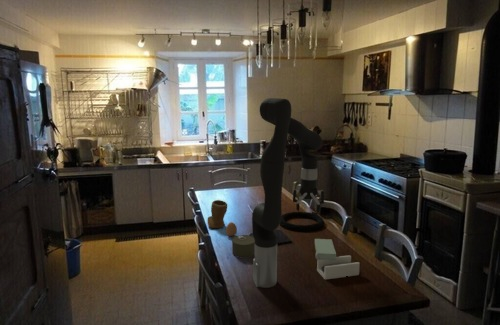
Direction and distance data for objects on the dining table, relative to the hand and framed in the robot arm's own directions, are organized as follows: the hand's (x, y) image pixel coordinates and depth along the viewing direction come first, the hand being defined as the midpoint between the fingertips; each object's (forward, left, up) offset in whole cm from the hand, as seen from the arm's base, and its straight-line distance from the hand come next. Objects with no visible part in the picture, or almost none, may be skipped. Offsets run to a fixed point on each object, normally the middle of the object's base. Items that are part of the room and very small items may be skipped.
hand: (307, 211), depth 165 cm
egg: (-29, +35, -23) cm, 51 cm away
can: (-28, +13, -24) cm, 38 cm away
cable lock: (+17, +45, -24) cm, 53 cm away
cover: (+5, -7, -17) cm, 20 cm away
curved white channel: (+8, -17, -23) cm, 30 cm away
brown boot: (-34, +54, -23) cm, 68 cm away
